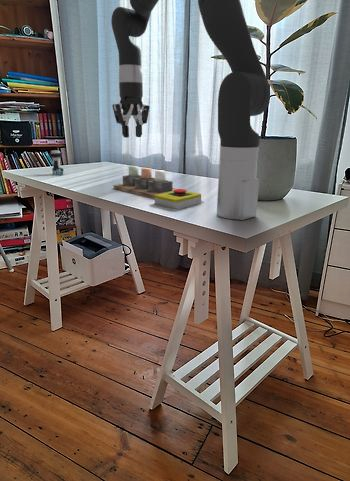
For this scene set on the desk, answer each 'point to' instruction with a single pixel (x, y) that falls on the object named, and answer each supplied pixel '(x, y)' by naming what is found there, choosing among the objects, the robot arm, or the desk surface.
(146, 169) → the peach small block
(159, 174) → the ivory key
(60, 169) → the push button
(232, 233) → the desk surface
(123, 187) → the brown wooden flat board
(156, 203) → the emergency button
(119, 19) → the robot arm
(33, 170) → the desk surface
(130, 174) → the sage key
